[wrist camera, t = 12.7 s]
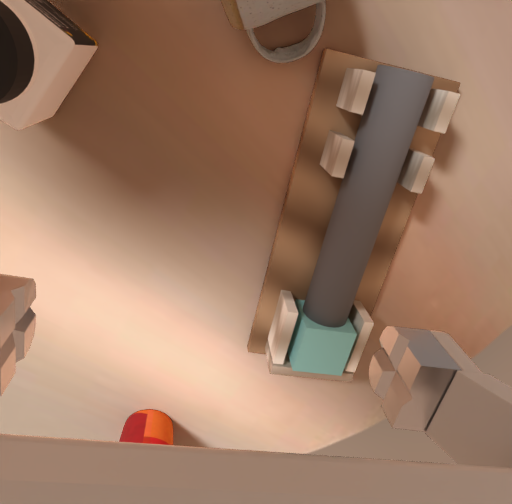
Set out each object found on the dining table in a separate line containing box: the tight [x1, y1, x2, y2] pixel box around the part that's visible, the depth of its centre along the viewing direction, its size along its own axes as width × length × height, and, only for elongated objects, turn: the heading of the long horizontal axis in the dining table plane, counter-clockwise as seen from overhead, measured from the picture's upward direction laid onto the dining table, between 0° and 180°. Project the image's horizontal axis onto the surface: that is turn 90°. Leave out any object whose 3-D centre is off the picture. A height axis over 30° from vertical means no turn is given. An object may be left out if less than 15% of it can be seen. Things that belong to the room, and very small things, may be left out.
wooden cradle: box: [247, 48, 460, 382], centre depth 39 cm, size 30×12×5 cm, turn 168°
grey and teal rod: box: [287, 65, 434, 376], centre depth 38 cm, size 28×5×5 cm, turn 168°
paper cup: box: [119, 409, 173, 445], centre depth 43 cm, size 8×8×14 cm
